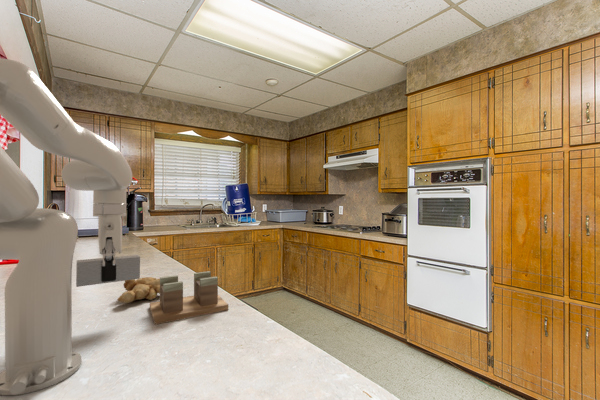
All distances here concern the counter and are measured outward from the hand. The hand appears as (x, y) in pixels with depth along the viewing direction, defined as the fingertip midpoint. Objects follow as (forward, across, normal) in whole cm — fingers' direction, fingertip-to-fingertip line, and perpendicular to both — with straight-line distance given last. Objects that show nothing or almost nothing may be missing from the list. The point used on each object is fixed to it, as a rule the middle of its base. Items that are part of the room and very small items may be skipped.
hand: (108, 278), depth 79 cm
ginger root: (+12, +19, -10) cm, 24 cm away
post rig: (+12, 0, -20) cm, 24 cm away
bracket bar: (+1, 0, 0) cm, 1 cm away
